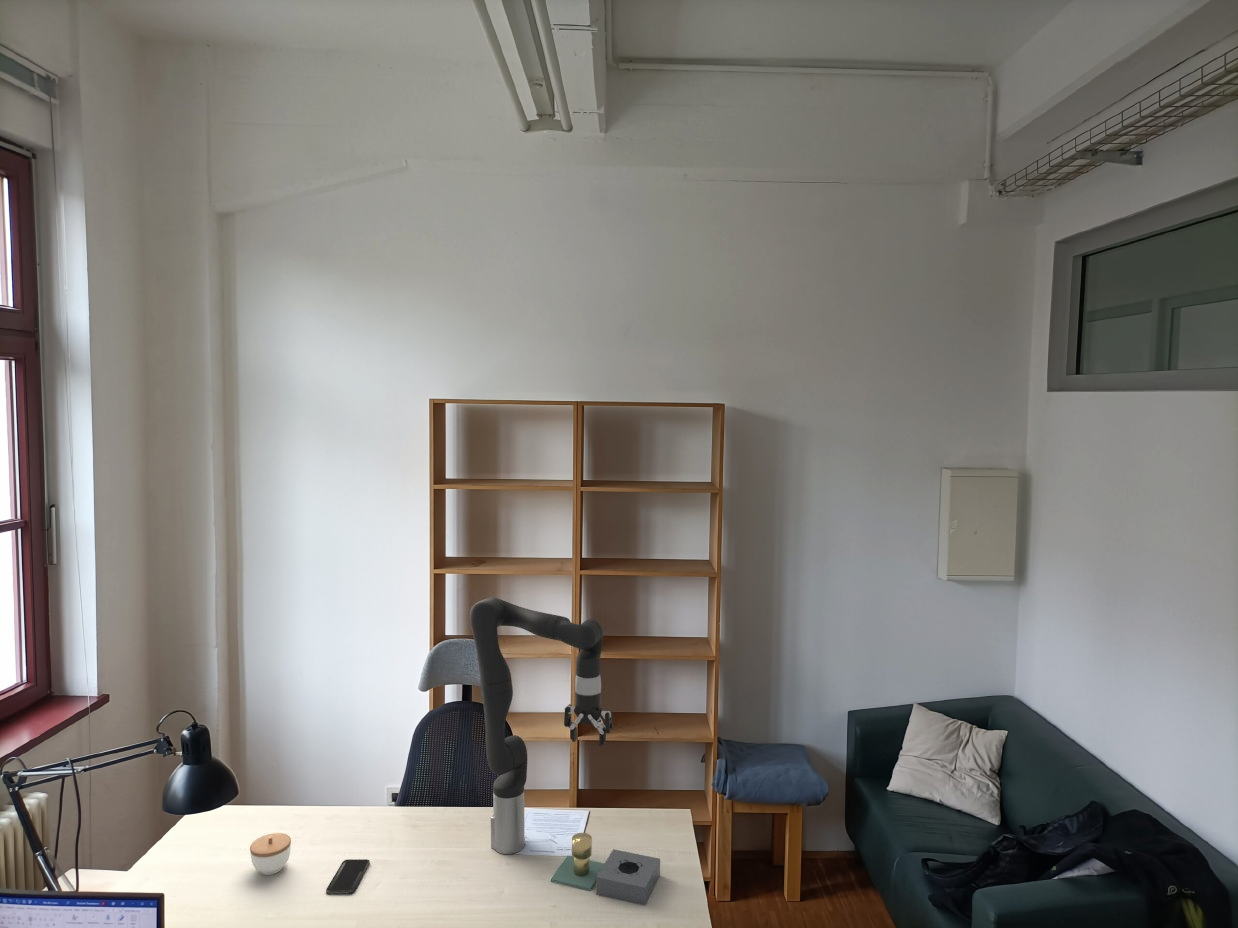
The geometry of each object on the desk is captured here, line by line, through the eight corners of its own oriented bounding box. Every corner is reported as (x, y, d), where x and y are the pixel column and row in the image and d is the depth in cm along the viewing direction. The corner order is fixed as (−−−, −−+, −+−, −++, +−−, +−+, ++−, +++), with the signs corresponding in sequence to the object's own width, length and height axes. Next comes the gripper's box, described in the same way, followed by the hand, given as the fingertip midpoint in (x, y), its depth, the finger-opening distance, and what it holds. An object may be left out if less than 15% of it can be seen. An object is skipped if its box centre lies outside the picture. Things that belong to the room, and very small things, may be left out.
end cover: (568, 875, 223) (569, 841, 223) (575, 863, 229) (576, 830, 228) (587, 879, 222) (587, 845, 221) (594, 867, 227) (594, 834, 226)
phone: (324, 891, 216) (344, 859, 231) (324, 895, 216) (344, 862, 231) (353, 891, 216) (371, 859, 231) (353, 895, 216) (371, 862, 231)
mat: (550, 881, 222) (550, 878, 222) (567, 857, 233) (567, 855, 233) (590, 890, 218) (590, 887, 218) (605, 865, 229) (605, 863, 229)
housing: (596, 894, 216) (596, 876, 216) (613, 865, 230) (613, 848, 229) (645, 905, 212) (645, 887, 211) (660, 875, 225) (660, 858, 225)
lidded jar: (270, 854, 235) (269, 824, 234) (299, 861, 231) (298, 831, 230) (242, 875, 225) (240, 843, 224) (272, 883, 221) (271, 851, 220)
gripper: (560, 690, 230) (560, 744, 231) (606, 697, 225) (606, 752, 226) (570, 681, 237) (570, 734, 238) (615, 687, 232) (615, 741, 233)
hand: (588, 742), depth 232 cm, fingers open, 8 cm apart
